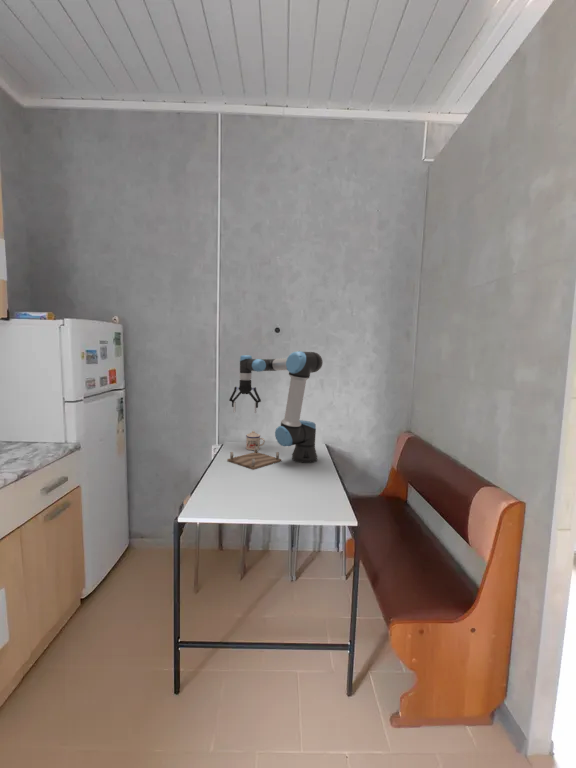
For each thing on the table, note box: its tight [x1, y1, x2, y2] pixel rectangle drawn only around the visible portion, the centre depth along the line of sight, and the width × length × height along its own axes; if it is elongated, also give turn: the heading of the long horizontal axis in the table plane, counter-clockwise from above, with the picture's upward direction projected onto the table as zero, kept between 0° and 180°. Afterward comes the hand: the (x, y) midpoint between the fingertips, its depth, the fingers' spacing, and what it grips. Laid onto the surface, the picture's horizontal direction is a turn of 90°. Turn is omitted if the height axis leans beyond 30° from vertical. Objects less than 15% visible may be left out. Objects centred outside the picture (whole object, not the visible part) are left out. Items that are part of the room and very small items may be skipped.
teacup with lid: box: [245, 430, 266, 451], centre depth 251 cm, size 12×9×12 cm
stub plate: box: [226, 446, 283, 471], centre depth 225 cm, size 21×23×5 cm
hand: (244, 412), depth 251 cm, fingers open, 13 cm apart
